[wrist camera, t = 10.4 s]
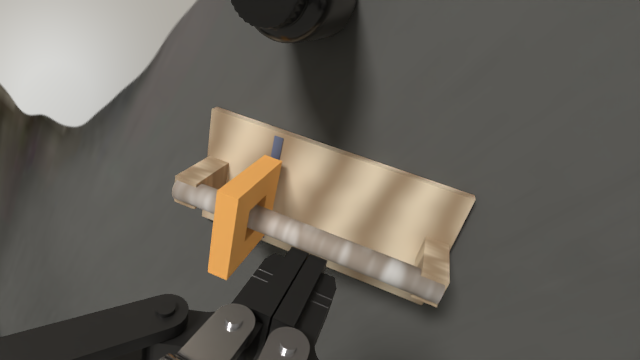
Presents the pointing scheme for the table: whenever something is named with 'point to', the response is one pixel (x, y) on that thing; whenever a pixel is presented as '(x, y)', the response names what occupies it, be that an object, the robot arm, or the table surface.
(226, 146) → the pipe stand
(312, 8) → the supplement bottle
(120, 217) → the table surface
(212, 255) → the collar
